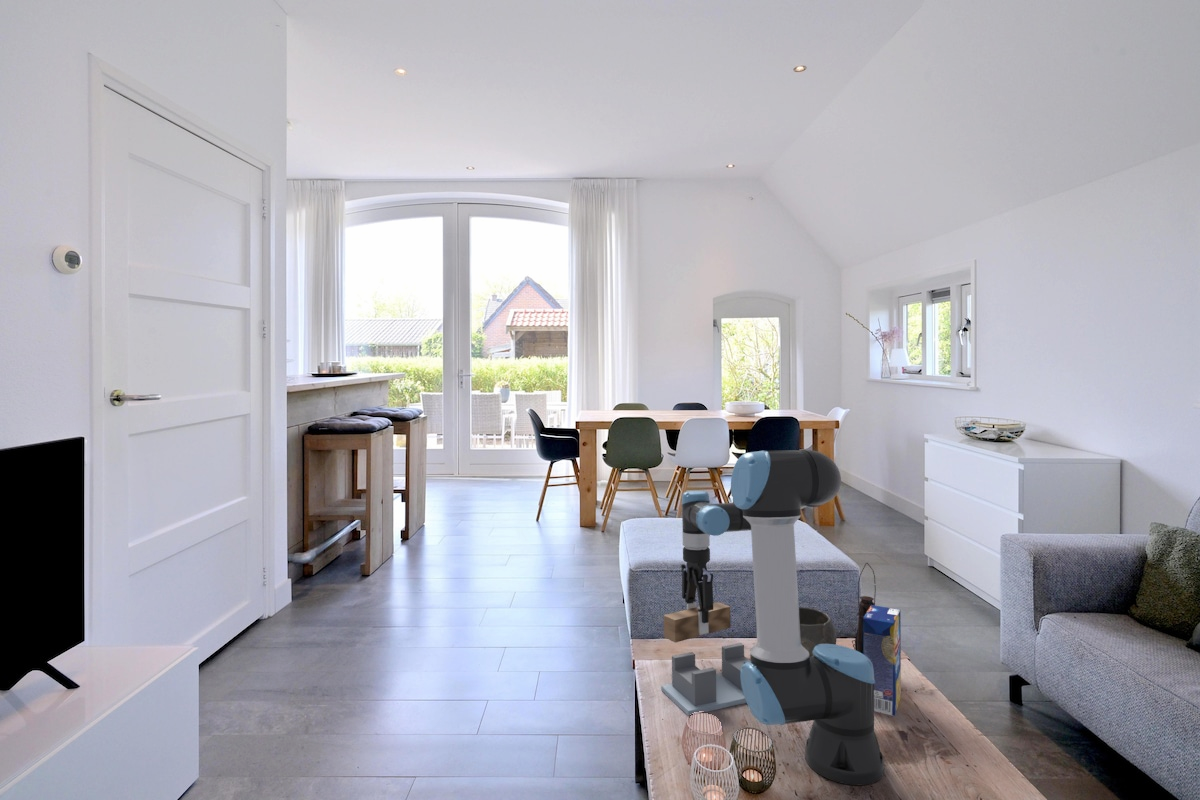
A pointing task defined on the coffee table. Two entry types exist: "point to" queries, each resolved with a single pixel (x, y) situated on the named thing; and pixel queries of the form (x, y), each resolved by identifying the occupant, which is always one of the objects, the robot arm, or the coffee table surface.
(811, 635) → the bowl
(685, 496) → the robot arm
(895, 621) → the beverage box
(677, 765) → the coffee table surface
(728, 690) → the bracket
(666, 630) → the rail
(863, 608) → the lantern
